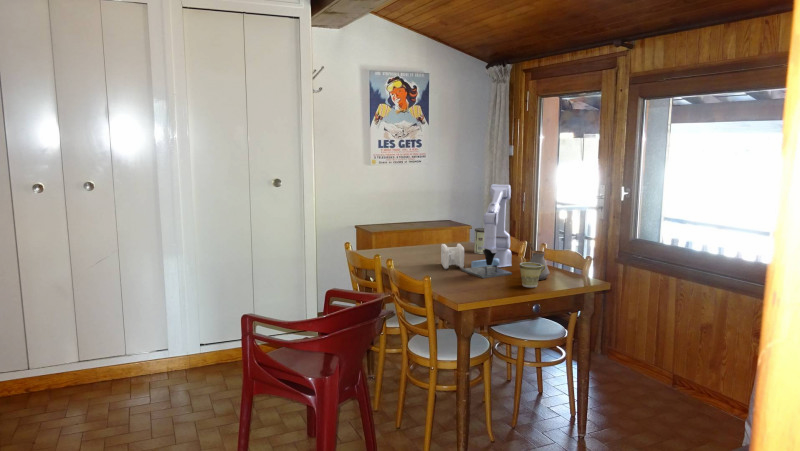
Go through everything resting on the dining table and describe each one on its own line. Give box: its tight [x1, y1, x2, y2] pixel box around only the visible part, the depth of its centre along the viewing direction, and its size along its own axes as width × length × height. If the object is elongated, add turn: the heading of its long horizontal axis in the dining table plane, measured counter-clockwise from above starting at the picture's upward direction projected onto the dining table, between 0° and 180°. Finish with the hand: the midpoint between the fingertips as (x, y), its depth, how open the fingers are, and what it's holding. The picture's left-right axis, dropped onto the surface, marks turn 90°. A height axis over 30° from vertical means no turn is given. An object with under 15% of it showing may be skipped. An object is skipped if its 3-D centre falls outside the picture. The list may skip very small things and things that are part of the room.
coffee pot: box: [526, 241, 550, 281], centre depth 276 cm, size 21×12×15 cm, turn 3°
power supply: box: [483, 266, 495, 273], centre depth 280 cm, size 5×5×3 cm
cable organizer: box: [440, 243, 465, 270], centre depth 293 cm, size 15×11×12 cm
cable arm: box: [470, 258, 499, 268], centre depth 278 cm, size 16×4×3 cm, turn 118°
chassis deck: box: [460, 267, 513, 279], centre depth 282 cm, size 18×18×1 cm
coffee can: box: [473, 227, 486, 255], centre depth 332 cm, size 10×10×14 cm
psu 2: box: [470, 266, 485, 274], centre depth 277 cm, size 5×5×3 cm
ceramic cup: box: [519, 261, 545, 289], centre depth 257 cm, size 13×10×10 cm
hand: (489, 264), depth 272 cm, fingers closed
